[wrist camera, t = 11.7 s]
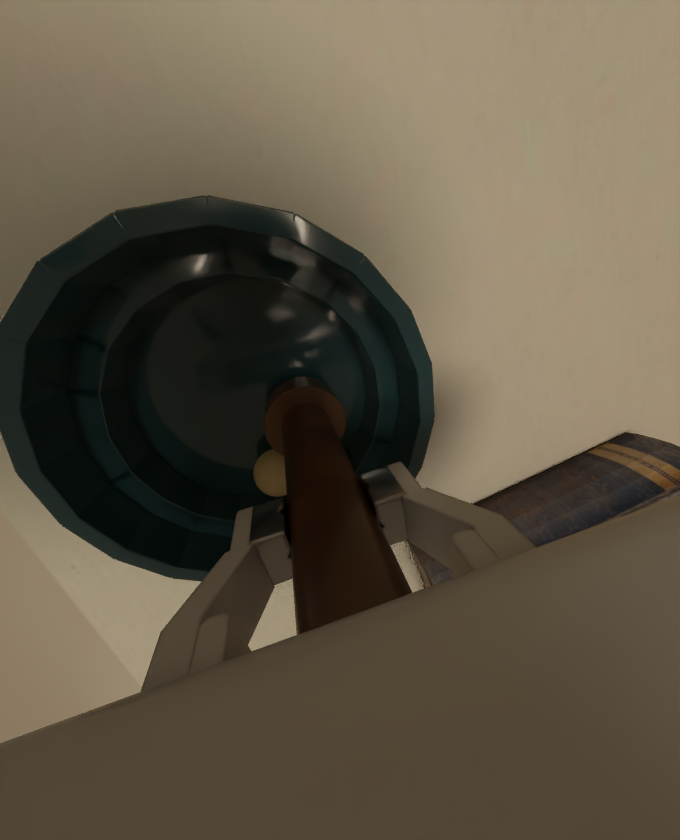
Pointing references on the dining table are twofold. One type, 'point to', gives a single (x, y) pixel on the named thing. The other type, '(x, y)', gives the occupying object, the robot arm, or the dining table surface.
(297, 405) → the stirrer
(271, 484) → the dough ball
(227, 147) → the dining table surface
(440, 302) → the dining table surface
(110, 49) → the dining table surface
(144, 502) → the bowl
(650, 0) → the dining table surface
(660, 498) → the book
